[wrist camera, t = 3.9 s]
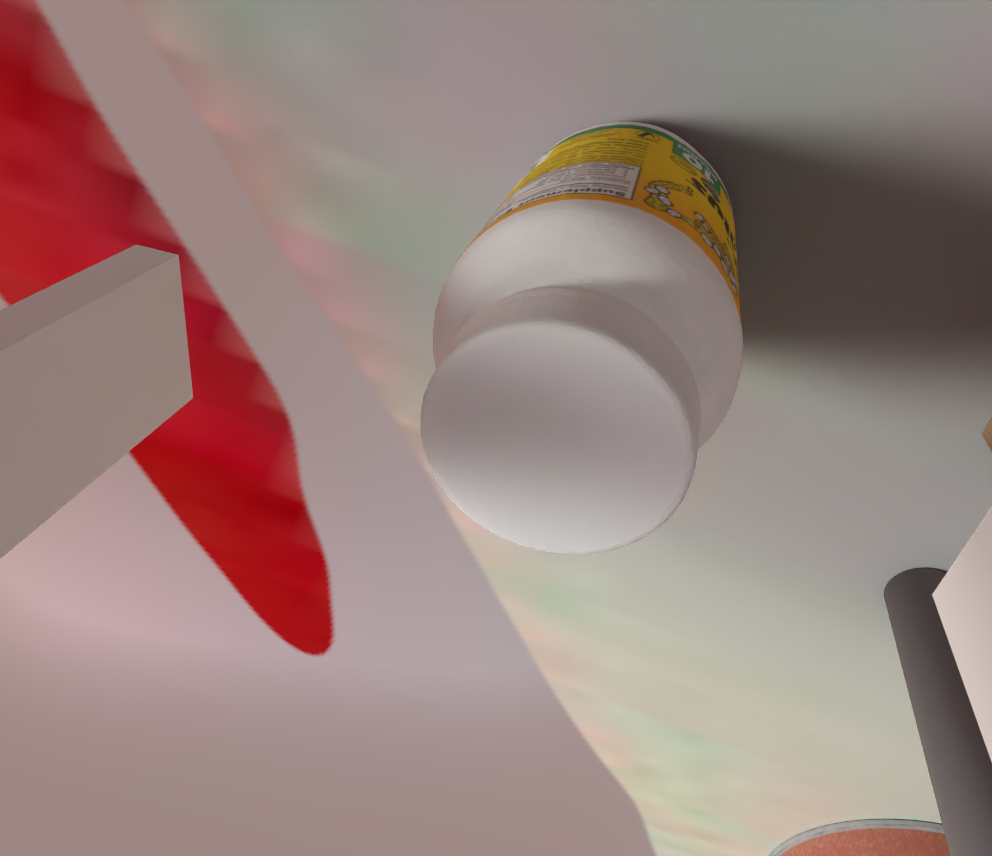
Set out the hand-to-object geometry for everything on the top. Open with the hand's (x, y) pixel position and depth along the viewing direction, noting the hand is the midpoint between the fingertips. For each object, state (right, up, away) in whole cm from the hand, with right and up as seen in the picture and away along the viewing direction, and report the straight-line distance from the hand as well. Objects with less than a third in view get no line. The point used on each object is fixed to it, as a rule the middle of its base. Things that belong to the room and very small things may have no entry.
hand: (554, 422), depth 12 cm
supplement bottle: (+2, +5, +7) cm, 9 cm away
